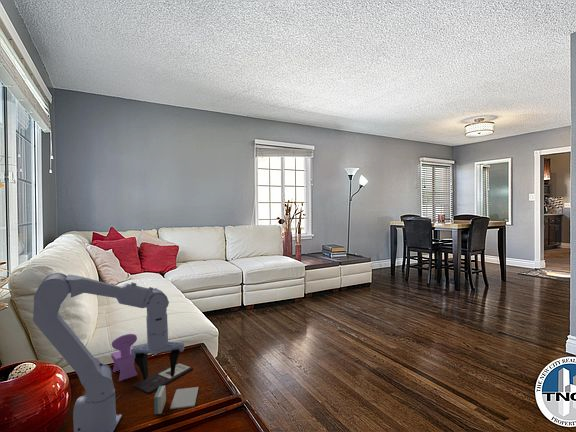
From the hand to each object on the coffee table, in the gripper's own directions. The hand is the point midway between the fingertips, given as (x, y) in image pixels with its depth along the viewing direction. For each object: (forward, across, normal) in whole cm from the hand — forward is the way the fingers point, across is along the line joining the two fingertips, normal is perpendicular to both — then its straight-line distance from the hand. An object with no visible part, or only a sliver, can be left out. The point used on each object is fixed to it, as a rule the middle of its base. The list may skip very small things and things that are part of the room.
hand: (159, 376), depth 95 cm
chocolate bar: (+10, -3, +18) cm, 21 cm away
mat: (+9, +6, +4) cm, 12 cm away
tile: (+9, 0, 0) cm, 9 cm away
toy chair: (+10, -18, +24) cm, 31 cm away
